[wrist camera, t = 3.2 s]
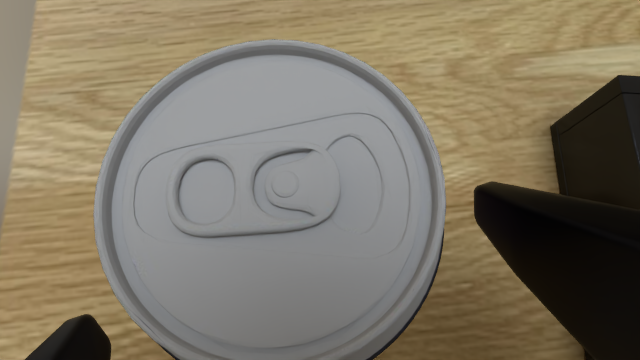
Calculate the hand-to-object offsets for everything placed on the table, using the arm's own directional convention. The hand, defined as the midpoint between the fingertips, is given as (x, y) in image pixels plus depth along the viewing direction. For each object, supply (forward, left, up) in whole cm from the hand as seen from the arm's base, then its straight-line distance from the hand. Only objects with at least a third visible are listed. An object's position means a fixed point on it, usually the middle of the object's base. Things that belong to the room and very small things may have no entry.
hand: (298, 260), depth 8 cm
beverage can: (+1, 0, -9) cm, 9 cm away
